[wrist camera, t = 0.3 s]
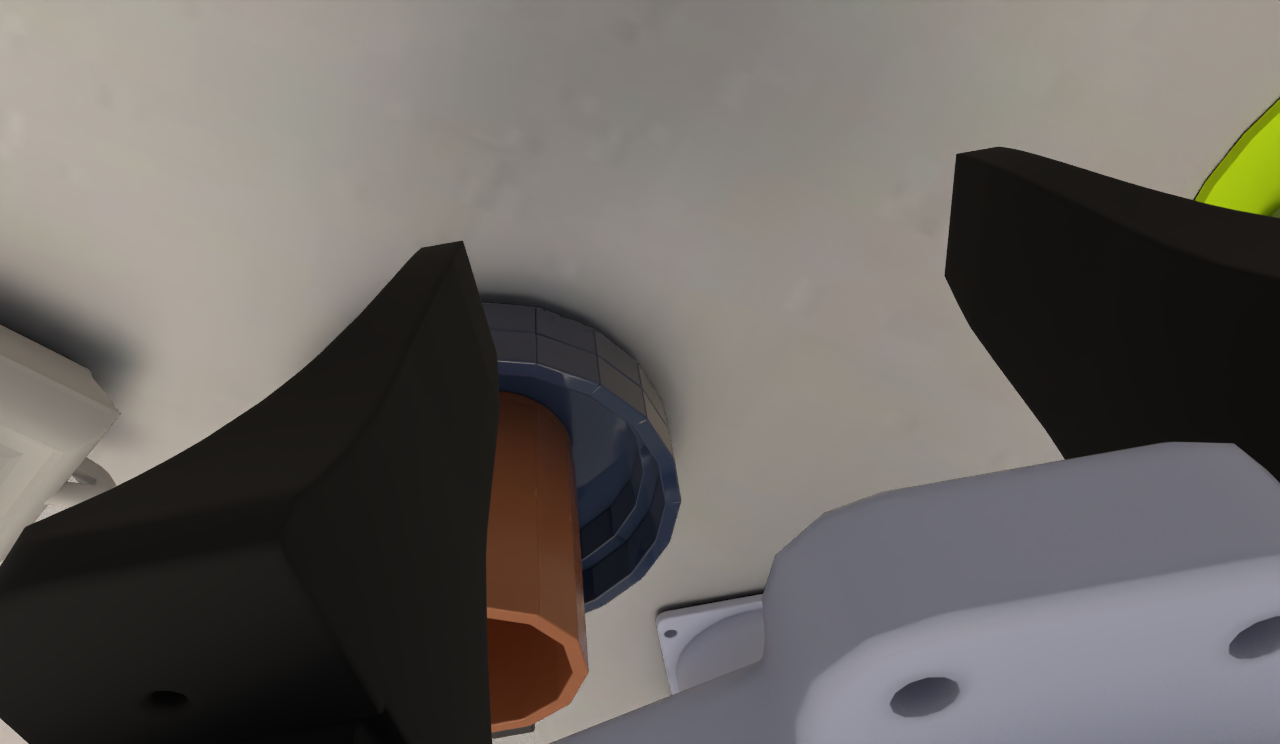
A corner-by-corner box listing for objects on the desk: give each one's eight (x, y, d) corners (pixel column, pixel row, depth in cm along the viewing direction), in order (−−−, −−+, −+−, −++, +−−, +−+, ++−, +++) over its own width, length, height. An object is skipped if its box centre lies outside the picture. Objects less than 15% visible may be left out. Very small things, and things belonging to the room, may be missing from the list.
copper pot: (590, 515, 29) (608, 733, 23) (442, 541, 29) (418, 766, 23) (547, 349, 25) (553, 563, 18) (372, 380, 25) (318, 605, 18)
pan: (683, 528, 31) (697, 600, 28) (376, 583, 31) (362, 660, 28) (639, 260, 24) (652, 323, 21) (241, 331, 24) (207, 403, 21)
